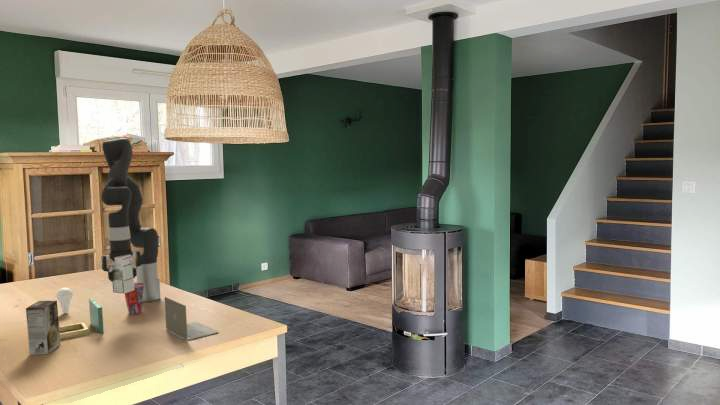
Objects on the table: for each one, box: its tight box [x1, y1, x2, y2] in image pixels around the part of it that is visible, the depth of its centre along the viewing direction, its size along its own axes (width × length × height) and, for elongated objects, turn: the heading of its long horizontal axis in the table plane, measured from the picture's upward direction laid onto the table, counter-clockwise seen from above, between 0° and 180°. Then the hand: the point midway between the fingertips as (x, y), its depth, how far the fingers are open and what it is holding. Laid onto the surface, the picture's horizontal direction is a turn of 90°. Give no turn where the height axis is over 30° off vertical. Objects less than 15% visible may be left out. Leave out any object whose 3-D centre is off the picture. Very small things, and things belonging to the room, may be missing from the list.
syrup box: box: [110, 255, 135, 294], centre depth 214 cm, size 6×6×14 cm
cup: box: [124, 282, 144, 316], centre depth 229 cm, size 9×8×12 cm
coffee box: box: [25, 300, 61, 356], centre depth 186 cm, size 9×6×16 cm
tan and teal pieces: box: [59, 298, 104, 341], centre depth 205 cm, size 15×16×10 cm
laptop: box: [164, 296, 219, 342], centre depth 203 cm, size 18×12×13 cm
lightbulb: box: [55, 287, 74, 314], centre depth 231 cm, size 6×6×11 cm
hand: (122, 279), depth 214 cm, fingers closed on syrup box, 7 cm apart
